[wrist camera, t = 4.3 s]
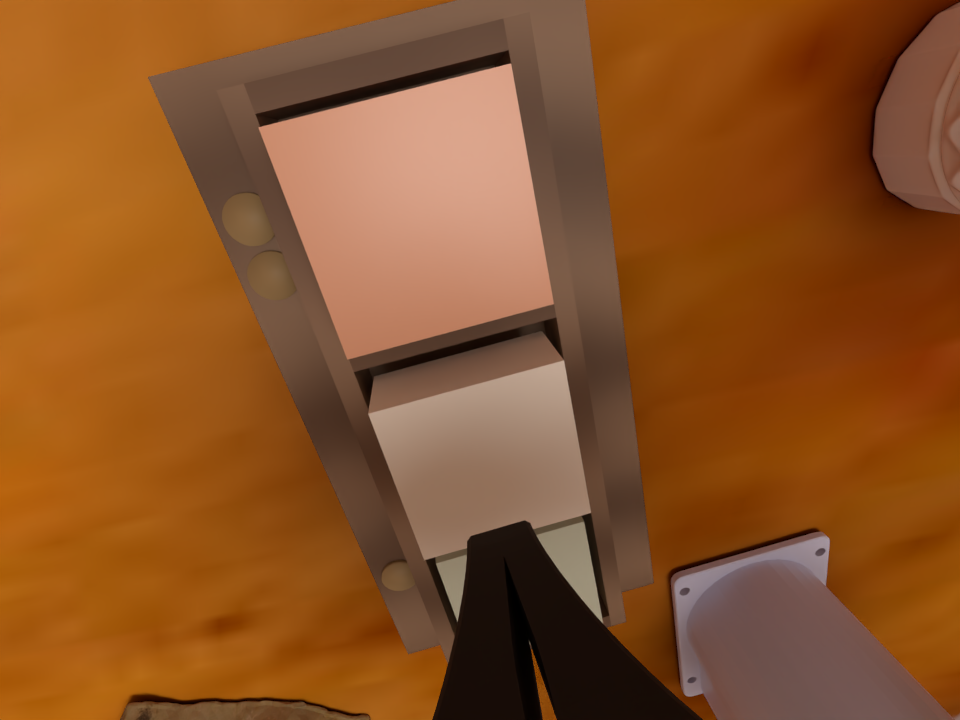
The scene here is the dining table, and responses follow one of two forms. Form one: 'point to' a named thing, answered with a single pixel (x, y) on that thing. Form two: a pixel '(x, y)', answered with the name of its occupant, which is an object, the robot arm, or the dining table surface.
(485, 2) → the brown flat tray
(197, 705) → the rock
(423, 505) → the cream key
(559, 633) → the robot arm
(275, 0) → the dining table surface
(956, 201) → the white cup
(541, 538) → the sage key
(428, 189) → the terracotta key
